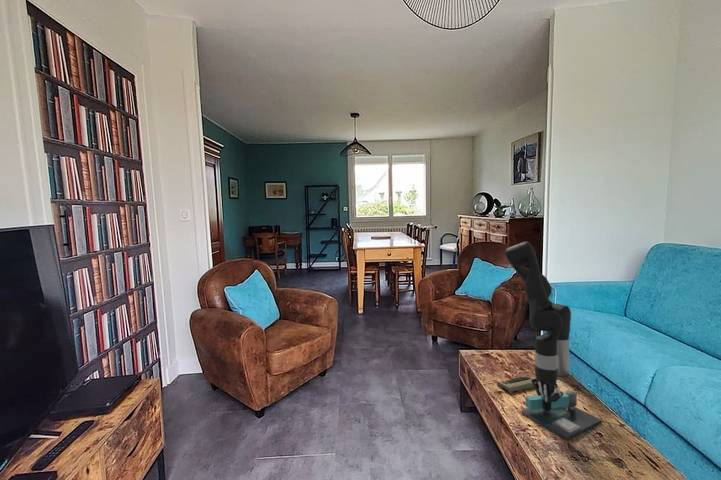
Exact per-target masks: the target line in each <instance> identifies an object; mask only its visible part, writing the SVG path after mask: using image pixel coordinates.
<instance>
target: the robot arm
mask: <svg viewBox="0 0 721 480" xmlns="http://www.w3.org/2000/svg"><path fill="white" fill-rule="evenodd" d="M504 254H505V257H506V259H507V261H508V263H509V264H510V265H511V267H512V268H513V269H514V270H515V272H516V273H517V275H518V276H519V277H520V279H521V280H522V282H523V284H524V293H525V296H526V299H527V301H528V307H529V325H530V327H531V328H532V329H533V330H534V331H537V332H545V333H544V334H540V335H538V336H536V337H535V340H534V347H535V349H534V351H535V352H534V375H535V378H532V380H531V381H532V383H533V385H534V388H533V389H534V390H535V392H536V395H539V396H541V399H542V406H543V409H544V410H545V411H550V410H551V403H552V402H556V401H557V400H558V399H559V398H561V397H562V396H563V393H562V391H559V389H558V386H559V385H558V384H557V380H558V379H559V377H565V376H568V375H570V374H569V373H570V370H571V369H570V368H571V365H570V364H571V363H570V360H571V359H570V358H571V353H570V333H571V321H572V320H571V319H572V312H571V308H570V307H569V306H568V305H564V304H560V303H554V302H552V301H551V300H550V296H551V294H552V291H553V290H552V289H553V288H552V285H551V284H550V282H549V280H548V278H547V277H546V276H545V274H542V272H541V270H540V264H539V261H538V256H537V253H536V250H535V249H534V247H533V245H532V244H531V242H529V241H523V242H519V243H518V244H515V245H512V246H510V247H508V248H505V253H504ZM528 264H529V268H528V267H526V265H528Z"/></svg>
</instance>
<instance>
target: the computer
mask: <svg viewBox="0 0 721 480" xmlns="http://www.w3.org/2000/svg"><path fill="white" fill-rule="evenodd" d="M532 379H533V378H531V377H529V376H527V375H523V376H517V377H514V378H509V379H504V380H500V381H497V382H496V386H497V387H498V388H499V389H501V390H503V391H504V392H506V393H508V394H509V395H510V394H513V393H514V392H523V391H526V390H527V391H528V390H529V389H535V388H534V385H533V383H532V381H531V380H532Z"/></svg>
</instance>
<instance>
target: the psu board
mask: <svg viewBox="0 0 721 480" xmlns="http://www.w3.org/2000/svg"><path fill="white" fill-rule="evenodd" d="M520 412H521V415H523V416H524V417H526V418H528V419H529V420H531V421H532V422H535V423H536V424H538V425H540V426H542V427H543V428H545V429H546V430H548V431H550V432H552V433H553V434H555V435H556V436H559V437H560V438H562V439H563V440H565V441H567V442H568V441H569V440H571V439H573V438H575V437H577V436H579V435H581V434H583V433H585V432H588V431H589V430H591V429H593V428H595V427H596V426H599V425H601V424H603V423H602V422H603V420H602V419H600V418H598V417H597V416H595V415H592V414H591V413H588V412H586V411H585V410H582V409H580V408H579V407H576V406H570V405H569V406H566V407H557V408H551V410H550V411H545V410H544V409H539V410H529V409H528V408H527V407H526V408H525V409H522V410H521V411H520Z"/></svg>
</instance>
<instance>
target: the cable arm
mask: <svg viewBox="0 0 721 480" xmlns="http://www.w3.org/2000/svg"><path fill="white" fill-rule="evenodd" d="M561 392H562V391H561ZM562 393H563V396H562V397H561V398H559V399H558V400H557V401H556V402H552V403H551V408H557V407H566V406H569V405H570V406H575V407H576V406H577V405H578V404H577V403H578V400H577V397H578V396H577V395H578V394H577V392H575V391H574V390H571V389H570V390H565V392H564V391H563V392H562ZM524 399H525V403H524V404H525V407H526V409H527V408H528V409H529V410H539V409H543V406H542V399H541V396H539V395H538V394H534V395H525V398H524Z"/></svg>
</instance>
